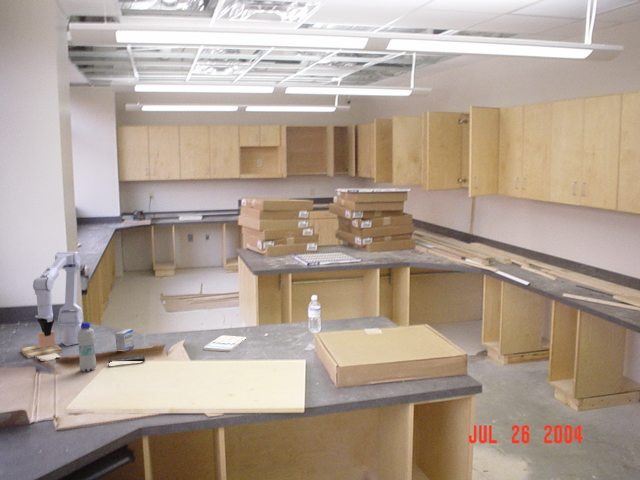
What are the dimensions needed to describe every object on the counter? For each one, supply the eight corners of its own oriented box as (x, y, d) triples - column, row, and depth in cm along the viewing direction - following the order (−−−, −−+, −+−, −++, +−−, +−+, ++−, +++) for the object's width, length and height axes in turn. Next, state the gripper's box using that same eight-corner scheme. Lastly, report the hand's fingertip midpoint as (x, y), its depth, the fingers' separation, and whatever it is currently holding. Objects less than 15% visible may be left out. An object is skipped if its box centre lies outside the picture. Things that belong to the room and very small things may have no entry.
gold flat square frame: (53, 345, 266) (53, 341, 265) (62, 352, 255) (61, 347, 255) (20, 351, 257) (20, 347, 257) (28, 358, 246) (28, 354, 246)
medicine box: (125, 352, 253) (124, 333, 252) (116, 351, 254) (115, 333, 253) (134, 347, 261) (133, 328, 260) (125, 346, 262) (124, 328, 261)
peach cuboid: (53, 343, 249) (52, 330, 248) (55, 344, 247) (54, 331, 246) (39, 346, 245) (38, 333, 244) (40, 347, 243) (39, 334, 243)
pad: (55, 354, 252) (55, 352, 252) (60, 358, 246) (60, 357, 246) (36, 357, 247) (36, 356, 247) (41, 362, 241) (41, 361, 241)
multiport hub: (109, 364, 238) (108, 359, 238) (144, 360, 243) (144, 355, 242) (108, 367, 234) (108, 362, 234) (145, 363, 239) (144, 358, 238)
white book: (247, 340, 271) (246, 336, 270) (229, 352, 251) (229, 348, 251) (221, 338, 274) (221, 334, 274) (202, 350, 255) (202, 346, 255)
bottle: (100, 367, 233) (97, 320, 230) (89, 373, 226) (85, 325, 224) (87, 366, 235) (84, 319, 233) (75, 371, 228) (72, 323, 226)
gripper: (30, 303, 247) (32, 333, 249) (39, 308, 236) (41, 340, 238) (47, 300, 252) (49, 330, 253) (56, 306, 240) (59, 337, 242)
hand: (46, 335), depth 246 cm, fingers closed on peach cuboid, 2 cm apart
